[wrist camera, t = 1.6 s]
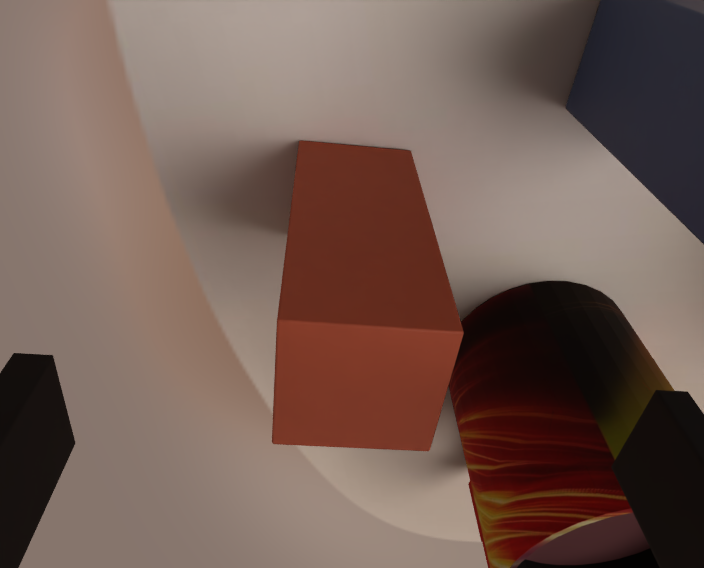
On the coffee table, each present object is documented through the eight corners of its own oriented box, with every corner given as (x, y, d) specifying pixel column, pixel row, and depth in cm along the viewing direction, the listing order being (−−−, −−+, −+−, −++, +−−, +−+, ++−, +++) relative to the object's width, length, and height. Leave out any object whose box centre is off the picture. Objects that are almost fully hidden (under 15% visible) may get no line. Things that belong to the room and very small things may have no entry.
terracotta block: (299, 139, 20) (276, 320, 12) (411, 150, 20) (464, 332, 12) (293, 237, 22) (271, 445, 14) (394, 245, 23) (430, 452, 14)
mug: (465, 471, 31) (515, 692, 23) (430, 304, 24) (482, 531, 16) (622, 444, 30) (735, 664, 22) (631, 262, 23) (801, 480, 15)
